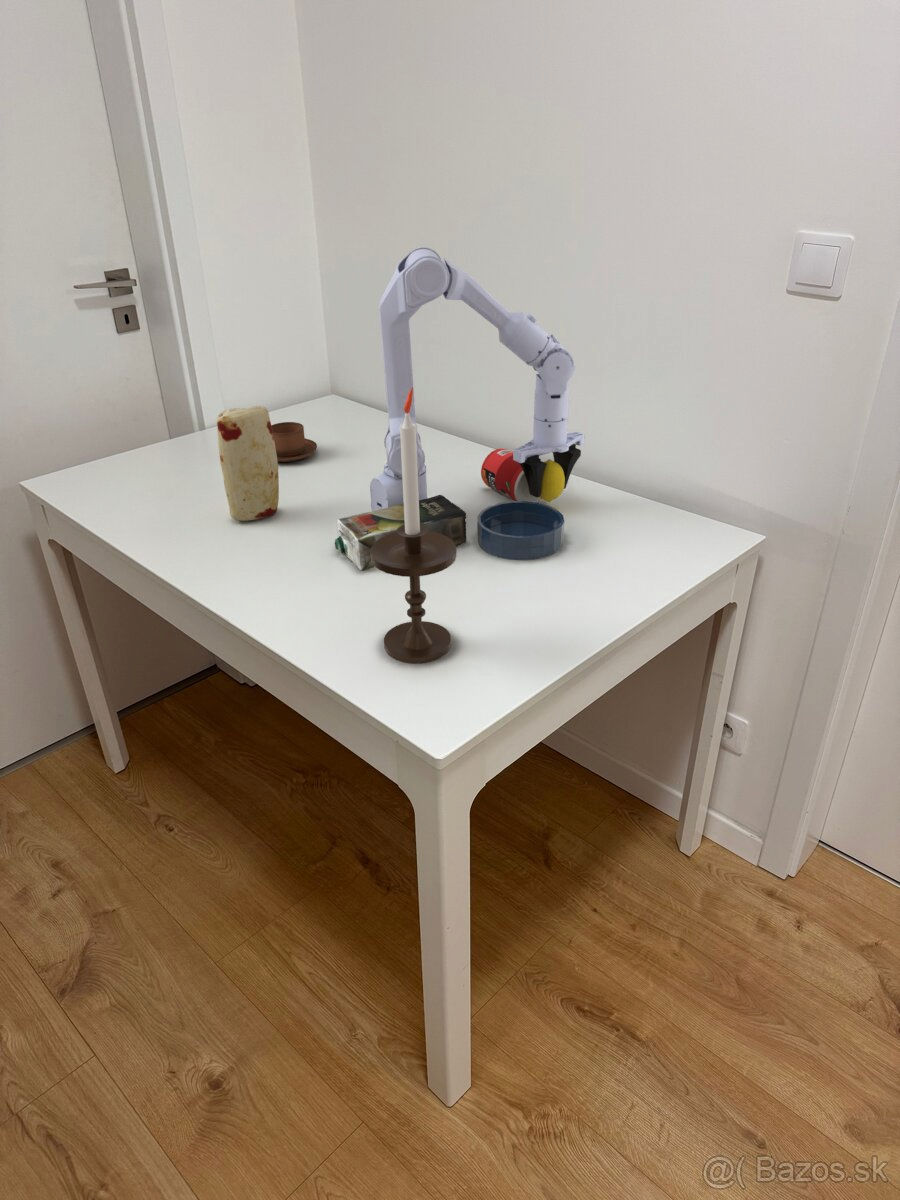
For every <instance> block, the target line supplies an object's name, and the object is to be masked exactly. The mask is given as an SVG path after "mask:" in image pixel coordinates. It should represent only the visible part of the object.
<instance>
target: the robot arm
mask: <svg viewBox="0 0 900 1200" xmlns="http://www.w3.org/2000/svg"><path fill="white" fill-rule="evenodd" d="M443 260H444V261H443ZM443 260H442V258H441V256H440V254H439V253H438V252H437V251H435V249H432V248H430V247H428V246H427V247H426V246H420V247H416V248H414V249H412V250H411V251H409V253H408V254H407V255H406V256H404V257H403V258H401V260H400V261H399V262H397V265H396V268H395V270H394V273H393V275H392V277H391V279H390V280H389V282H388V284H387V286H386V288H385V290H384V292H383V294H382V296H381V298H380V300H379V302H378V313H379V324H380V325H379V326H380V337H381V347H382V360H383V372H384V383H385V395H386V407H387V423H388V425H387V426H388V427H387V431H386V434H385V436H384V441H383V443H384V447H385V452H386V463H385V464H384V466H383V471H382V473H381V474H379V475H377V476H376V477H374V478H372V479H371V481H370V484H369V493H370V507H371V512H372V511H376V510H379V509H385V508H389V507H393V506H396V505H400V504H404V499H403V479H402V459H401V439H400V425H402V424H403V423H404V419H405V414H406V413H405V411H404V407H405V402H406V401H407V395H408V393H409V392H410V391H411V387H413V397H412V404H411V408H410V412H409V413H408V414H410V419H411V422H412V424H415V425H416V443H417V468H418V493H419V500H423V499H427V498H428V483H427V479H428V478H427V465H426V464H425V463H426V455H425V452H424V449H423V447H422V440H421V435H420V433H419V432H418V426H417V418H416V417H417V416H416V404H415V390H414V389H415V388H414V375H413V374H414V373H413V359H412V358H413V357H412V345H411V331H410V329H411V328H410V319H411V318H412V317H413V316H414V315H415V314H416V313H417V312H419V310H420V309H421V308H422V307H423V306H424V305H426V304H428V303H430V302H434V301H435V300H436V299H438V298H440V297H441V296H443V298H444V299H445V300H447V301H449V300H450V301H451V300H452V301H453V300H454V301H462V302H464V303H465V304H466V305H467V306H469V307H470V308H471V309H472V310H474V311H475V312H476V313H478V314H479V315H480V316H481V317H482V318H484V319H485V320H486V321H488V323H490V324H491V325H493V326H494V327H495V328H496V329H498V330H497V331H498V341H499V342H500V343H501V344H502V345H504V347H505V348H507V349H508V350H509V351H511V352H512V353H513V354H514V355H515V356H516V357H518V358H519V359H520V360H521V361H522V362H524V363H525V364H526V365H527V366H530V367H532V368H533V370H534V371H535V372H537V373H536V374H535V389H534V401H533V403H534V406H533V428H532V429H533V431H532V433H533V434H532V436H533V437H532V439H531V440H530V441H528V442H526V443H524V444H523V445H520V446H519V447H517V448H513V450H512V451H513V460H515V461H517V462H519V464H520V466H521V468H522V470H523V472H524V474H525V477H526V480H527V484H528V488H529V492H530V495H532V496H534V497H536V498H538V497H540V495H541V488H542V478H543V474H544V471H545V468H546V466H547V463H545V461H542V459H541V458H540V456H544V455H548V454H552V456H553V461H554V462H556V463H558V464H559V465H560V466H561V467H562V469H563V472H564V476H565V485H564V489H563V490H565V489H566V488H567V485H568V482H569V480H570V476H571V473H572V471H573V469H574V467H575V465H576V464H577V462H578V460H579V459H580V457H582V456H581V455H582V450H581V449H579V448H577V446H578V447H580V446H581V447H582V446H584V445H585V435H586V434H584V433H582V432H579V431H574V432H568V420H569V419H568V418H569V404H570V403H569V402H570V380H571V379H572V378H573V376H574V374H575V371H576V366H575V364H574V360H573V359H574V358H573V356H572V354H571V353H570V352H569V350H567V349H566V348H565V347H564V346H563V345H562V344H561V343H560V341H559V340H558V337H556V335H555V334H553V333H552V334H549V333H548V332H547V331H545V330H544V329H543V328H542V327H541V326H539V325H538V324H537V320H538V319H537V318H536V317H535V316H534V315H533V314H532V313H528V314H526V313H524V312H523V311H516V312H510V311H509V310H508V309H507V308H506V307H505V306H503V305H502V303H500V302H499V301H498V300H497V299H496V298H495V297H494V296H492V294H490V292H488V291H487V290H486V289H485V288H484V287H483V286H482V285H481V284H480V283H478V282H477V281H476V280H475V279H474V278H473V277H472V276H471V275H470V274H469V273H468V272H466V271H464V270H463V269H462V268H460V267H459V266H457V265H456V264H454V263H453V262H452V261H450V260H449V259H447V258H445V257H443Z"/></svg>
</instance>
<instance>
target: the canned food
mask: <svg viewBox="0 0 900 1200" xmlns="http://www.w3.org/2000/svg"><path fill="white" fill-rule="evenodd" d="M480 476H481V480H482V481H483V484H485V485H486V486H487V487H488V488H490V489H492V490H494V491H496V492H497V493H500V494H501V495H503V496H505V497H508V498H509V499H511V500H512V501H528V502H537V503H540V501H541V500H543V499H542V498H540V497H538V498H536V497H534V496H532V495H530V492H529V488H528V484H527V480H526V477H525V474H524V472H523V470H522V468H521V466H520V464H519V462H517V461H515V460H513V450H511V449H508V448H496V449H494V450H492V451H491V452H490V453H489V454H488V455H487V456H486V457H485V459H484V460H483V462H482V465H481V468H480Z"/></svg>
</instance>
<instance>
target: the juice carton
mask: <svg viewBox="0 0 900 1200" xmlns="http://www.w3.org/2000/svg"><path fill="white" fill-rule="evenodd" d="M419 518H420V524H422V525H425V526H426V527H427V528H428V531H431V532H436V533H440V534H442V535H445V536H447V537H449V538H450V539H451V540H452V541H454V543H455V545H456V547H459V546H462V545H464V544H466V543H467V520H466V519H467V513H466V511H465V510H464V509H462V508H460V506H458V505H457V504H455V503H454V502H452V501H451V500H450V499H448V498H447V497H446V496H444V495H443V494H437V495H435V496H431V497H427V499H423V500H419ZM402 525H405V519H404V504H400V505H396V506H393V507H389V508H385V509H379V510H376V511H372V510H371V511H367V512H363V513H362V512H361V513H359V514H354V515H350V516H346V517H341V518H338V519H337V533H338V534H337V535H338V537H337V538H335V539H334V547H335V550H338V551H339V552H340V553H341V554H343V555H345V556H346V557H347V558H348V559H349V560H350V561H351V562H352V563H354V565H355V566H356V567H357V568H358V569H359V571H366V570H369V569H373V568H375V566H374V565H373V564H372V561H371V554H370V551H371V547H372V545H373V544H374V543H375V542H376V541H377V540H379V539H380V538H382V537H384V536H386V535H389V534H392V533H396V532H397V529H398V528H399V527H400V526H402Z"/></svg>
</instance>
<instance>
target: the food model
mask: <svg viewBox="0 0 900 1200" xmlns="http://www.w3.org/2000/svg"><path fill="white" fill-rule="evenodd" d="M271 425H272V422H271V417H270V414H269V410H268V409H267V407H266V406H262V405H257V406H250V407H236V408H229V409H226V410H223V411H221V412H220V413H219V414H218V415H217V417H216V430H217V444H218V452H219V453H218V454H219V462H220V466H221V472H222V478H223V485H224V491H225V495H226V499H227V503H228V507H229V508H228V509H229V510H228V511H229V516H230V517H231V519H234V520H237V521H241V522H242V521H243V522H245V521H254V520H261V519H263V518H269V517H272V516H274V515H275V514H276V513H277V510H278V508H279V499H280V497H279V496H280V484H279V462H278V461H277V455H276V448H275V442H274V436H273V431H272V427H271Z"/></svg>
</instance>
